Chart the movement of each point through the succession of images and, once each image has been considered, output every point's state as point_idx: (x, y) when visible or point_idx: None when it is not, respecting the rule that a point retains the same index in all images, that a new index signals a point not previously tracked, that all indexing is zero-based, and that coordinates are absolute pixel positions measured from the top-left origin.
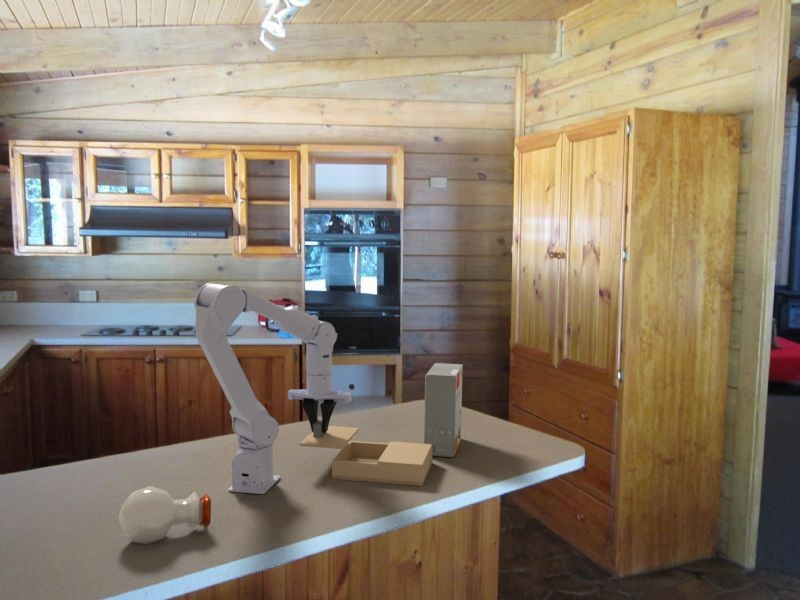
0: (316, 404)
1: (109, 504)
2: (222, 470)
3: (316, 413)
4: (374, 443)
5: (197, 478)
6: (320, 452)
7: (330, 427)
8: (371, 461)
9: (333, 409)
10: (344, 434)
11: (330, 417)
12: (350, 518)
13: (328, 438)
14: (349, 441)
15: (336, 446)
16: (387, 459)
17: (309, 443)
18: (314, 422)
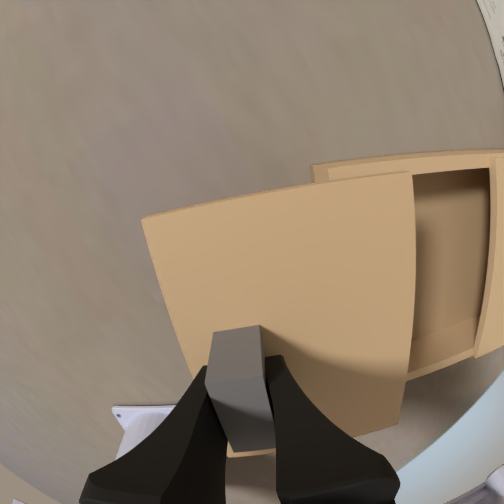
0: (194, 500)
1: (67, 482)
2: (51, 387)
3: (201, 442)
4: (442, 169)
5: (57, 423)
6: (169, 161)
7: (235, 232)
8: (418, 218)
9: (343, 433)
10: (374, 318)
11: (307, 397)
12: (408, 452)
13: (316, 393)
14: (332, 178)
15: (374, 429)
16: (498, 333)
17: (264, 450)
18: (223, 436)
